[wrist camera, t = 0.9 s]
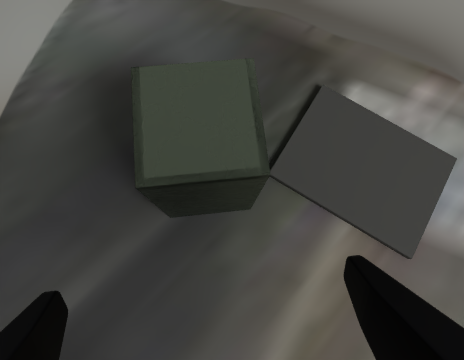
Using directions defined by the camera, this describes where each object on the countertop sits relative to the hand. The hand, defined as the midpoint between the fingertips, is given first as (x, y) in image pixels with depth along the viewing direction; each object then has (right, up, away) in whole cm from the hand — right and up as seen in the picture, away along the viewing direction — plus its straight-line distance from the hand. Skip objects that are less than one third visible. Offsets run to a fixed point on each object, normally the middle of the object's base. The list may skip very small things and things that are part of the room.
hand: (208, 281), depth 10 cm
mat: (+11, +4, +15) cm, 19 cm away
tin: (-1, +4, +14) cm, 15 cm away
